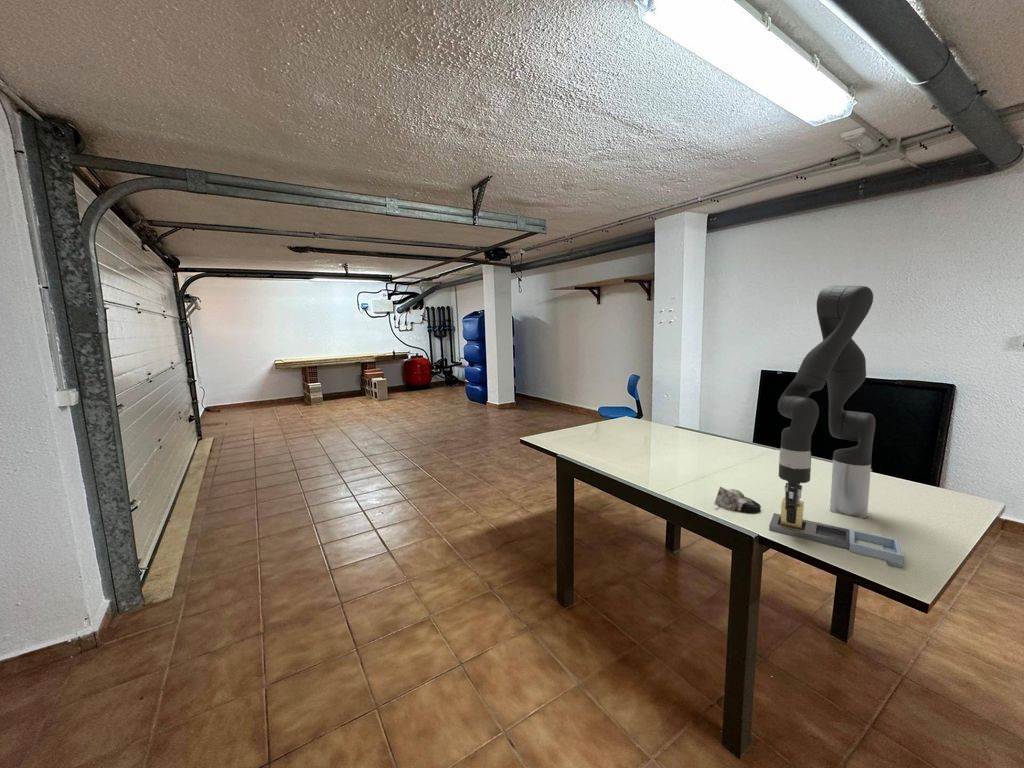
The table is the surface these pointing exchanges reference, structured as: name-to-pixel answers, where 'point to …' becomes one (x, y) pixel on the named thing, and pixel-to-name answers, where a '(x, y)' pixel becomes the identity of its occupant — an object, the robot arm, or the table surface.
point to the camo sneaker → (736, 501)
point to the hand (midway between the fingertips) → (791, 518)
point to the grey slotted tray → (814, 532)
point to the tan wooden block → (798, 515)
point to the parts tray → (890, 552)
